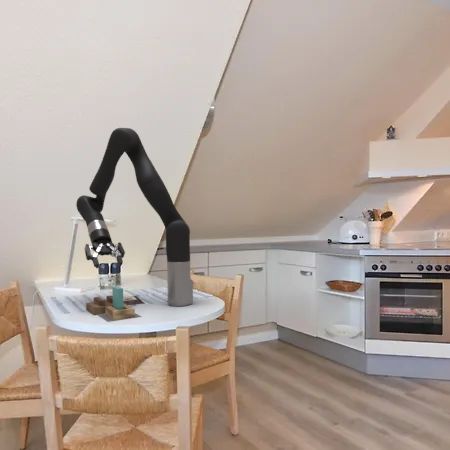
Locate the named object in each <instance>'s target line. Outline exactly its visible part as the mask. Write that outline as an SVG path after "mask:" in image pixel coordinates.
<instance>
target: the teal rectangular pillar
mask: <svg viewBox="0 0 450 450" xmlns="http://www.w3.org/2000/svg"><path fill="white" fill-rule="evenodd" d="M111 289H112V296H113V307H114V308H115V309H117V310H123V309H124V304H123V297H124V288H123V287H120V286H118V285H117V286H112V288H111Z"/></svg>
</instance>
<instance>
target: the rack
mask: <svg viewBox="0 0 450 450" xmlns="http://www.w3.org/2000/svg"><path fill="white" fill-rule="evenodd" d="M135 310H136V309H135V308H134V307H132V306H131V305H126V304H124V309H123V310H117V309H115V308H114V307H112V306H108V307H105V315H106V316H108V317H109V318H111V319H113V320H118V321H121V320H120V319H124V320H127V319H126V318H131V319H134V318H133V317H135V313H136V312H135Z"/></svg>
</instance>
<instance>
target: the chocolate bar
mask: <svg viewBox="0 0 450 450" xmlns="http://www.w3.org/2000/svg"><path fill="white" fill-rule="evenodd" d="M123 302H124V303H126V305H128V306H131V305H133V306H134V305H143V304H144V305H145V304H146V303H145V301H143V300H142V299H140V298H139V296H137V295H126V296H125V295H124V296H123Z"/></svg>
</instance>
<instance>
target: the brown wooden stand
mask: <svg viewBox="0 0 450 450" xmlns="http://www.w3.org/2000/svg"><path fill="white" fill-rule="evenodd" d="M123 304H126V303H124V302H123ZM108 306H112V307H113V294H112V295H111V294H110V295H106V299H104V298H101V297H100V296H94V297H93V299H92V302H86V303H85V310H86V311H87V312H88V313H89V314H92V315H93V316H98V315H101V314H105V307H108Z"/></svg>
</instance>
